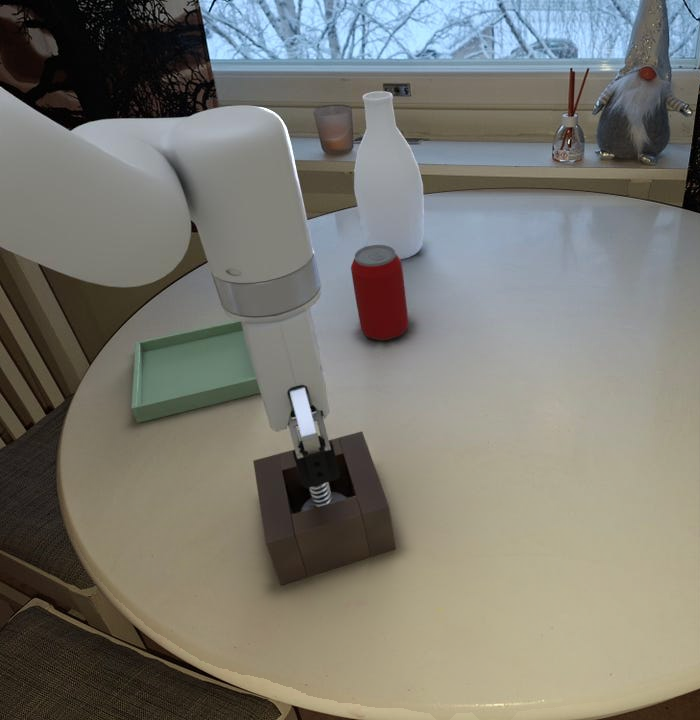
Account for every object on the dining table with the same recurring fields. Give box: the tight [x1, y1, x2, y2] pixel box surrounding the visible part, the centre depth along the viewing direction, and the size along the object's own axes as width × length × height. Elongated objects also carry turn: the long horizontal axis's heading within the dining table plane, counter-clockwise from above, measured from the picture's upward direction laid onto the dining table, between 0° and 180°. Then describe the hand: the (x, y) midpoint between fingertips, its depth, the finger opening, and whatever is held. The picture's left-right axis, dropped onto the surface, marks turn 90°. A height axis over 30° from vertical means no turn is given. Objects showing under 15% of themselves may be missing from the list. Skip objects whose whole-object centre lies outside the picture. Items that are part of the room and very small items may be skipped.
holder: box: [252, 431, 397, 586], centre depth 66 cm, size 11×11×6 cm
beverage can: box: [350, 245, 409, 341], centre depth 92 cm, size 7×7×12 cm
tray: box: [130, 320, 261, 424], centre depth 89 cm, size 15×15×2 cm
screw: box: [297, 429, 347, 512], centre depth 64 cm, size 13×5×5 cm
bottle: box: [353, 90, 425, 260], centre depth 109 cm, size 11×11×25 cm
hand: (312, 444), depth 62 cm, fingers open, 9 cm apart
